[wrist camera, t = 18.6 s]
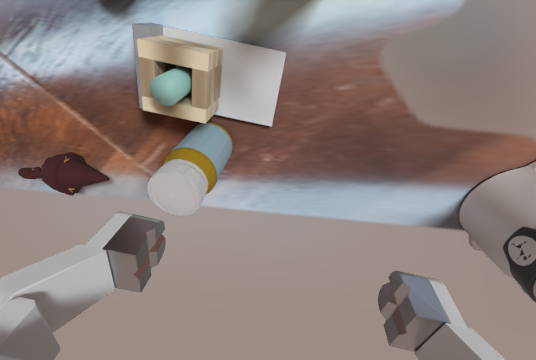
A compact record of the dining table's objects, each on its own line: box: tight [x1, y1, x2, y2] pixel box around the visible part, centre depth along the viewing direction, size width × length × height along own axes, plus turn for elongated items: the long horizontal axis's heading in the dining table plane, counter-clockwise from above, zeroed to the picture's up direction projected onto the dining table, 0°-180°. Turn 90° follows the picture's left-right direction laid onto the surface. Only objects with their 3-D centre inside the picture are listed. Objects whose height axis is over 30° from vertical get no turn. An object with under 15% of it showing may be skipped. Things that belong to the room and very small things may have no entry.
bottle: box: [147, 122, 233, 216], centre depth 36 cm, size 7×7×15 cm
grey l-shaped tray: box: [132, 23, 287, 127], centre depth 35 cm, size 18×10×4 cm, turn 80°
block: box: [137, 36, 223, 124], centre depth 33 cm, size 8×8×6 cm
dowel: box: [150, 66, 192, 106], centre depth 32 cm, size 3×3×9 cm
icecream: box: [18, 152, 109, 195], centre depth 45 cm, size 7×7×15 cm
